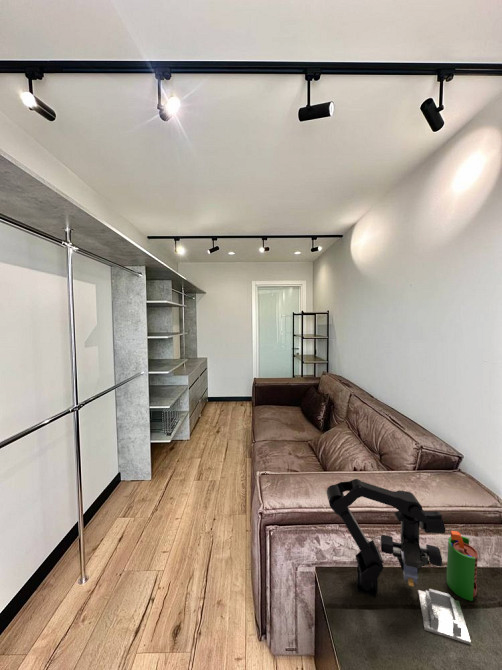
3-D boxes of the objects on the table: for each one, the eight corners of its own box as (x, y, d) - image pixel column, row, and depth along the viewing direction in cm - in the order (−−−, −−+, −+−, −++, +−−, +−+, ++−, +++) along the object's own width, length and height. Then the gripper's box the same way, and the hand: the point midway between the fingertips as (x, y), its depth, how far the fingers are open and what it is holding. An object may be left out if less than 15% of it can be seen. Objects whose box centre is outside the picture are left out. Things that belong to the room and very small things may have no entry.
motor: (483, 602, 101) (485, 547, 99) (454, 598, 103) (455, 544, 101) (468, 575, 111) (470, 525, 109) (441, 572, 113) (442, 522, 111)
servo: (404, 584, 103) (404, 571, 102) (401, 561, 112) (402, 548, 112) (418, 588, 101) (418, 574, 101) (414, 564, 110) (414, 551, 110)
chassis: (424, 629, 94) (424, 618, 93) (418, 592, 106) (418, 582, 105) (470, 644, 89) (471, 632, 89) (458, 603, 101) (459, 593, 101)
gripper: (381, 540, 101) (381, 583, 103) (446, 555, 94) (445, 601, 96) (380, 518, 111) (380, 557, 113) (439, 530, 104) (438, 571, 106)
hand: (409, 571), depth 106 cm, fingers closed on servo, 4 cm apart
